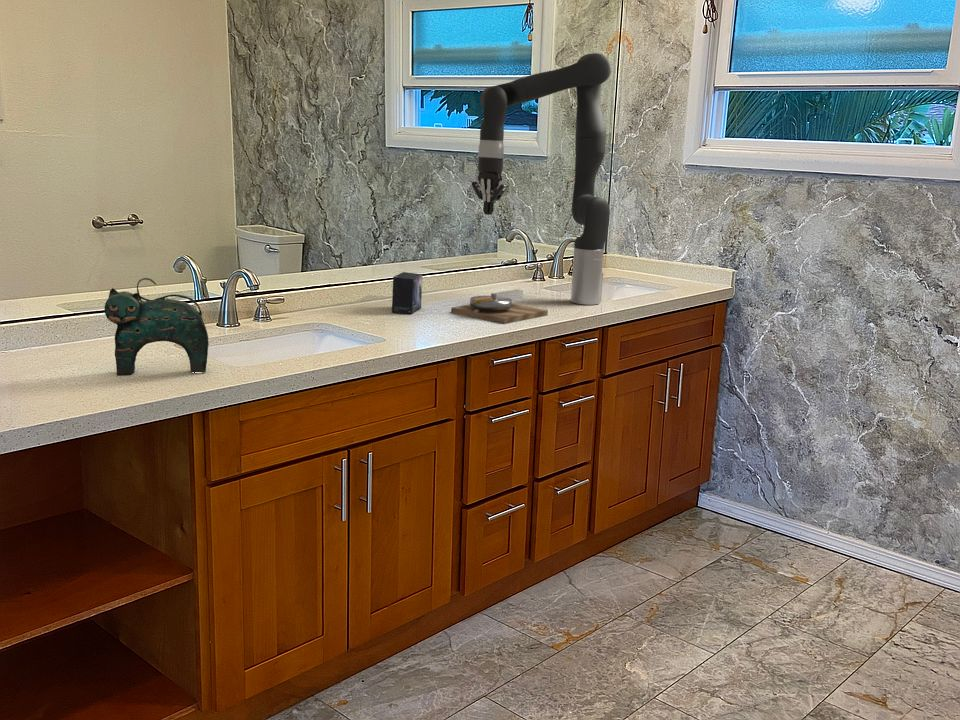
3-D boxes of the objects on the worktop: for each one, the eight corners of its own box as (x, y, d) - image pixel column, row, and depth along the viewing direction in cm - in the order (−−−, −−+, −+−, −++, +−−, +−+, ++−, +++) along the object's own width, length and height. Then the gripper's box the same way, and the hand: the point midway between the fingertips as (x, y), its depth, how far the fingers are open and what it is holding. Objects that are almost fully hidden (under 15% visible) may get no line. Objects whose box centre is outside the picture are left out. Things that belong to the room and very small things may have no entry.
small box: (413, 315, 271) (414, 278, 268) (390, 313, 272) (391, 276, 269) (422, 308, 281) (423, 273, 278) (401, 306, 282) (402, 271, 279)
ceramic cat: (107, 377, 194) (102, 279, 189) (111, 369, 200) (106, 274, 195) (208, 375, 198) (206, 280, 193) (209, 367, 204) (207, 275, 200)
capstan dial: (489, 314, 266) (490, 299, 265) (458, 307, 274) (459, 293, 273) (535, 306, 281) (536, 292, 280) (504, 300, 289) (505, 287, 288)
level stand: (494, 304, 291) (495, 298, 291) (547, 315, 279) (548, 308, 278) (451, 312, 276) (451, 305, 276) (504, 323, 264) (505, 316, 263)
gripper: (465, 154, 286) (463, 212, 290) (500, 157, 278) (497, 217, 282) (481, 154, 291) (479, 212, 295) (516, 157, 283) (513, 215, 287)
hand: (488, 214), depth 289 cm, fingers closed
